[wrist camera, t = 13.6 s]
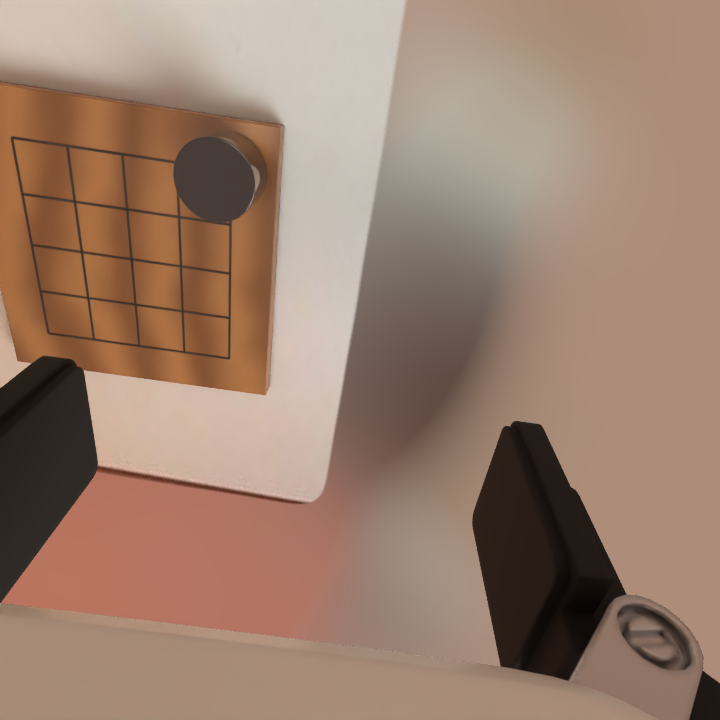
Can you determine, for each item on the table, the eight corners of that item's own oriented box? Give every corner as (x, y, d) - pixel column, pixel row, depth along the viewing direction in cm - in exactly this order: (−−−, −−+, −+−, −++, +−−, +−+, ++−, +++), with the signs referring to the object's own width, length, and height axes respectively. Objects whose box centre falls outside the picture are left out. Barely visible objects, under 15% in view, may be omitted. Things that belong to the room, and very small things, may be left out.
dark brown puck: (245, 118, 30) (229, 121, 27) (280, 193, 33) (269, 205, 29) (179, 149, 31) (156, 156, 28) (217, 220, 34) (200, 234, 30)
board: (284, 125, 32) (280, 127, 31) (269, 385, 42) (265, 396, 40) (-31, 76, 31) (-50, 76, 30) (28, 352, 41) (16, 361, 40)
